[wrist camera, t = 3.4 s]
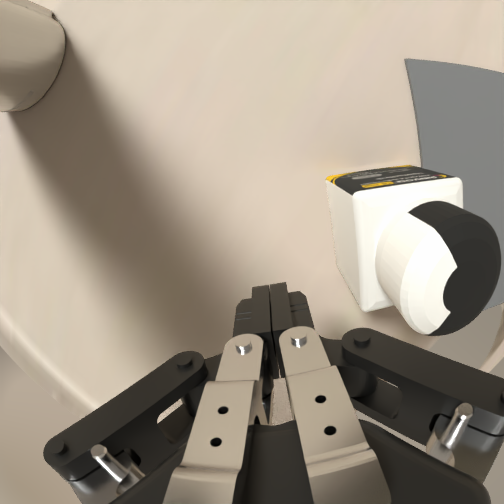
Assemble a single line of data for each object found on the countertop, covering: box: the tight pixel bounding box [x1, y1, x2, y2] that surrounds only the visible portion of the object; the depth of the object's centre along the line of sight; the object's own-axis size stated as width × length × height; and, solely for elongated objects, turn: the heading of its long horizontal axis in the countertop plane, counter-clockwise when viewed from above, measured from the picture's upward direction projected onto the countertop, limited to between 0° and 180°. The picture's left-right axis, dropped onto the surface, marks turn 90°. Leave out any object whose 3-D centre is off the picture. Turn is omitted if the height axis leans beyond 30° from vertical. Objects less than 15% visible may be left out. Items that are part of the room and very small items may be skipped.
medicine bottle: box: [325, 165, 501, 336], centre depth 16 cm, size 7×7×12 cm
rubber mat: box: [404, 59, 504, 311], centre depth 20 cm, size 24×16×1 cm, turn 11°
